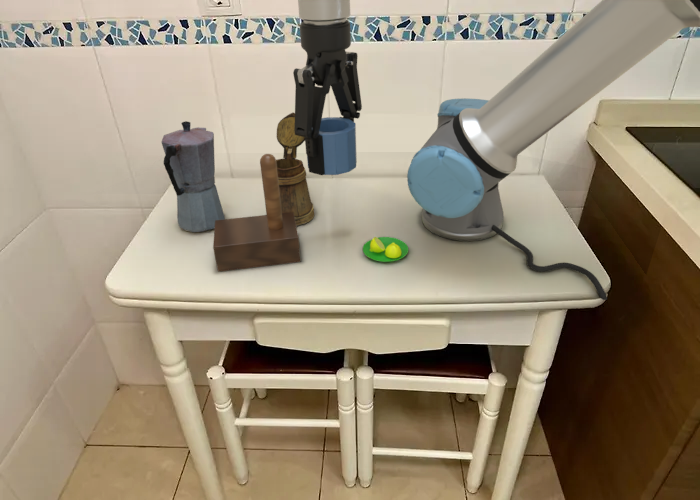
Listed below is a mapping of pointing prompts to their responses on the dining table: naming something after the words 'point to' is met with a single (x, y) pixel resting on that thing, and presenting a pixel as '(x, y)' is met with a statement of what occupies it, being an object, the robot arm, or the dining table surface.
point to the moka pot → (193, 177)
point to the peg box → (258, 231)
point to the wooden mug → (293, 174)
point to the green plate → (385, 249)
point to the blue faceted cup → (338, 145)
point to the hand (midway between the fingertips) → (332, 163)
